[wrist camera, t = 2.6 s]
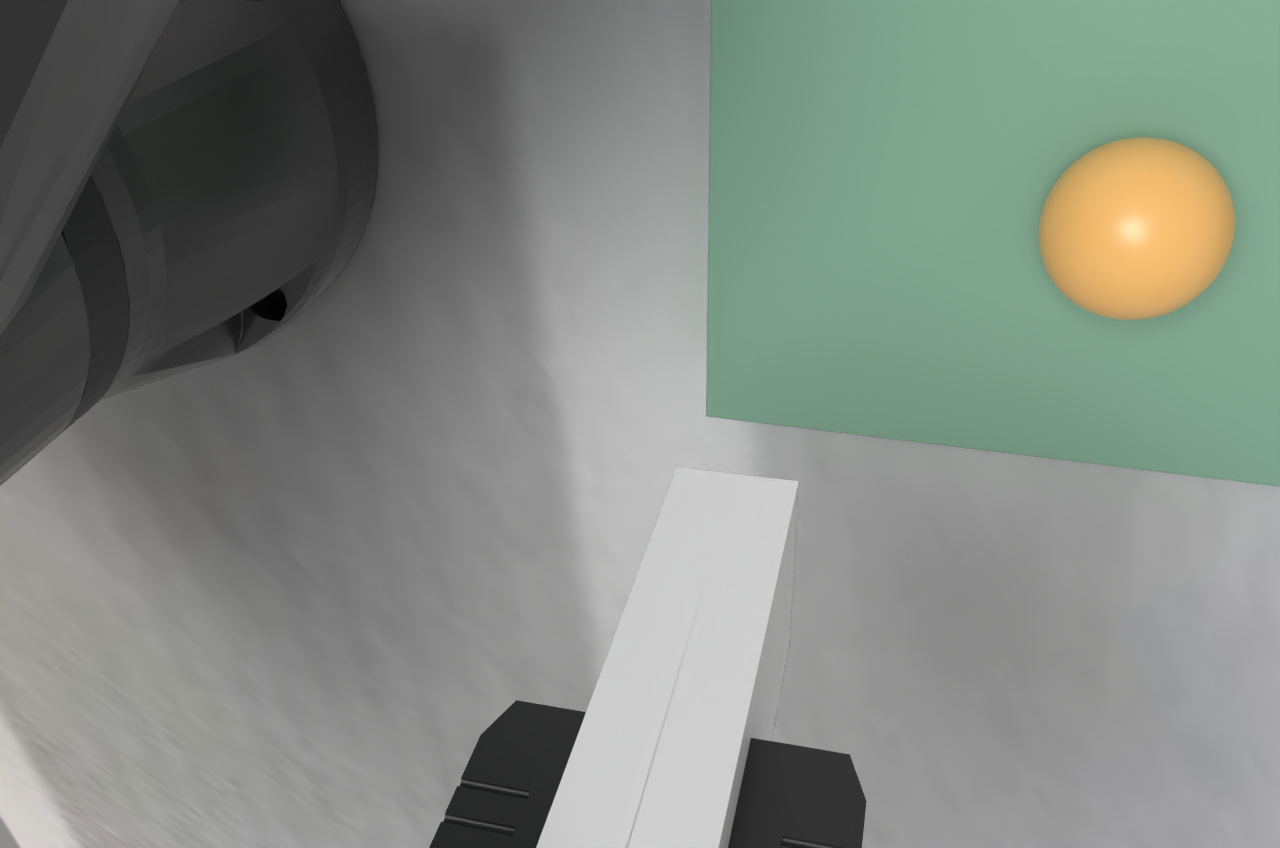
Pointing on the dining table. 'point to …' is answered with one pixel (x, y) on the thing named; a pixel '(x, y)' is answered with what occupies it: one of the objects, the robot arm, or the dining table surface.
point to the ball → (1136, 228)
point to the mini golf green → (985, 226)
